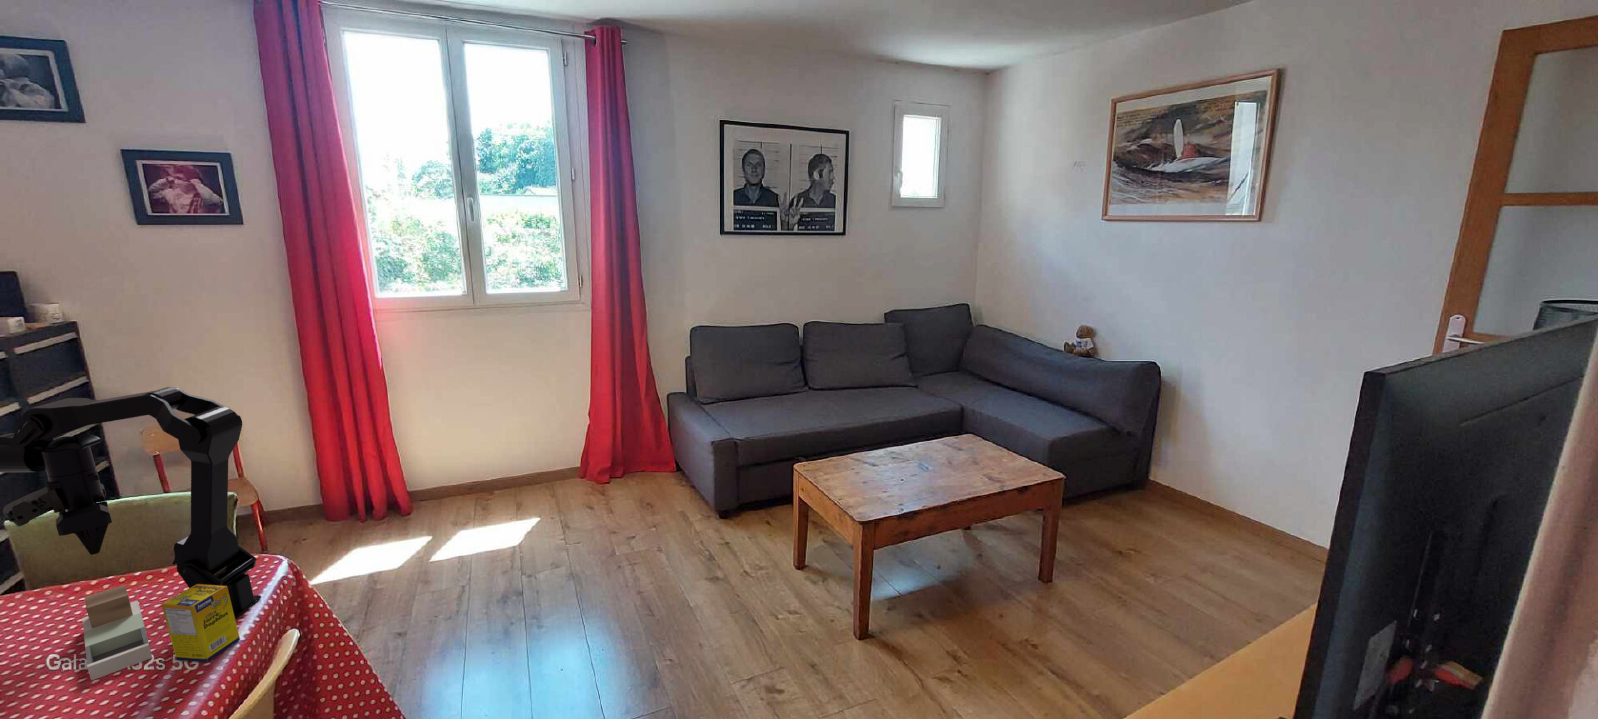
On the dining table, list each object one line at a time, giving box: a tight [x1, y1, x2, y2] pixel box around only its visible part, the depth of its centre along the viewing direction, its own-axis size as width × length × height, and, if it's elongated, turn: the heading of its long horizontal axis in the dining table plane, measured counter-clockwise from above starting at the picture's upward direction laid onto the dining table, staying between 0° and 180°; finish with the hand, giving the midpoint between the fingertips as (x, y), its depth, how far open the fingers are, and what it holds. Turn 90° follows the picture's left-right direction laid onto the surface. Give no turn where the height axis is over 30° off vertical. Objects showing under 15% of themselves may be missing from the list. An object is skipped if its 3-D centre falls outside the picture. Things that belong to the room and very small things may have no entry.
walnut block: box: [84, 584, 133, 628], centre depth 114 cm, size 5×5×4 cm
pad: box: [83, 612, 148, 657], centre depth 111 cm, size 6×7×2 cm
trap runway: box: [81, 600, 153, 681], centre depth 112 cm, size 22×7×2 cm, turn 49°
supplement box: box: [161, 584, 241, 664], centre depth 108 cm, size 6×6×11 cm
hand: (94, 549), depth 116 cm, fingers open, 4 cm apart
